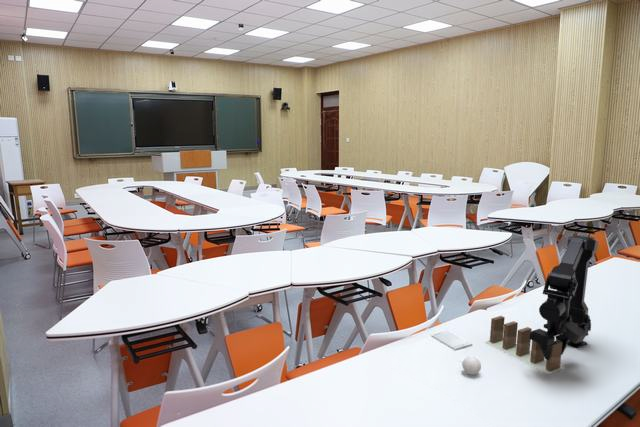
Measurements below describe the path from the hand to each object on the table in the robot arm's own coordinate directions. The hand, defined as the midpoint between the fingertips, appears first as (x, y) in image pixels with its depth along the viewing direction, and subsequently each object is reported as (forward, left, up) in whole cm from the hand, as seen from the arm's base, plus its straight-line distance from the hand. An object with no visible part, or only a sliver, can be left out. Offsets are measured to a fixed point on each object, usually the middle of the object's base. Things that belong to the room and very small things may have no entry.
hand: (553, 357), depth 144 cm
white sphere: (+25, -12, -5) cm, 28 cm away
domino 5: (0, 0, -4) cm, 4 cm away
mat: (0, -11, -4) cm, 12 cm away
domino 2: (0, -16, -4) cm, 17 cm away
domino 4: (0, -5, -4) cm, 7 cm away
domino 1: (0, -22, -4) cm, 22 cm away
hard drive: (+14, -30, -5) cm, 34 cm away
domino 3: (0, -11, -4) cm, 12 cm away
